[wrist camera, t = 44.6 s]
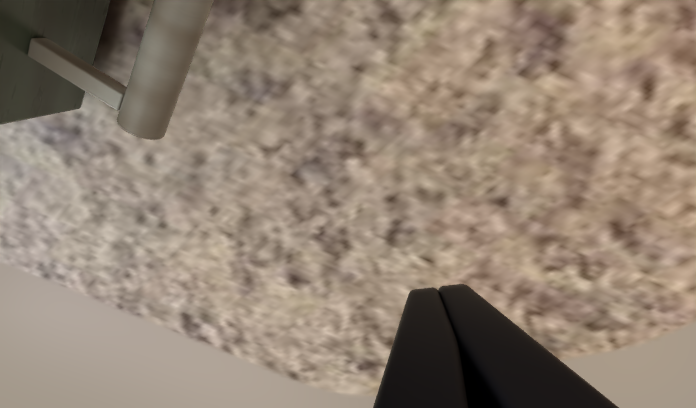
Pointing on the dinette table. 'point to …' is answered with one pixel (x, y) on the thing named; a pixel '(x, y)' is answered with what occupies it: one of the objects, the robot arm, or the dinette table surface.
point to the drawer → (78, 56)
